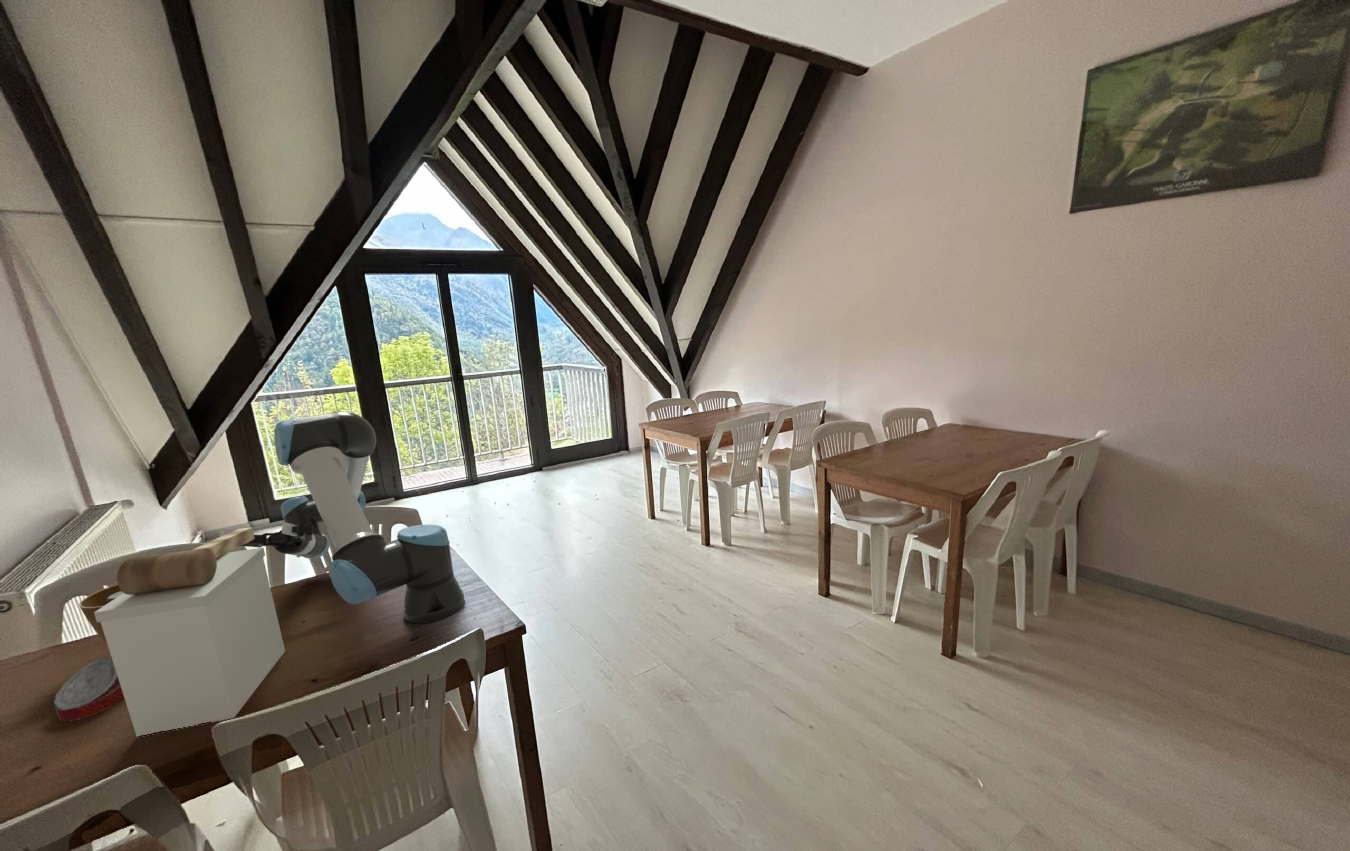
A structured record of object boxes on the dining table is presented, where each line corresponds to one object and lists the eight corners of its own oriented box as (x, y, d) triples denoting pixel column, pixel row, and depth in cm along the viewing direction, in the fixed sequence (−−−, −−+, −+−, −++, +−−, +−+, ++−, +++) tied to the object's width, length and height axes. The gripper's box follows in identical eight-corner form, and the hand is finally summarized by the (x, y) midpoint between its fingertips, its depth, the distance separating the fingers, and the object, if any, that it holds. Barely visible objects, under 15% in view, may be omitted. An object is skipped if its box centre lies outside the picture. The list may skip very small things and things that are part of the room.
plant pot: (197, 634, 132) (182, 578, 129) (122, 672, 118) (103, 610, 115) (159, 627, 136) (143, 572, 133) (83, 663, 122) (63, 603, 119)
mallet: (196, 589, 99) (190, 554, 98) (120, 600, 96) (114, 564, 95) (276, 543, 128) (272, 516, 127) (220, 551, 125) (215, 523, 125)
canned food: (132, 713, 112) (134, 683, 108) (62, 741, 103) (61, 710, 100) (117, 676, 116) (118, 645, 113) (48, 700, 108) (47, 668, 104)
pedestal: (237, 717, 103) (204, 595, 97) (133, 738, 98) (93, 612, 93) (287, 650, 123) (263, 547, 118) (204, 665, 119) (175, 559, 114)
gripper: (341, 547, 151) (308, 538, 131) (243, 561, 145) (193, 554, 125) (342, 522, 153) (309, 510, 134) (245, 535, 147) (196, 524, 128)
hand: (253, 531), depth 130 cm, fingers open, 13 cm apart
